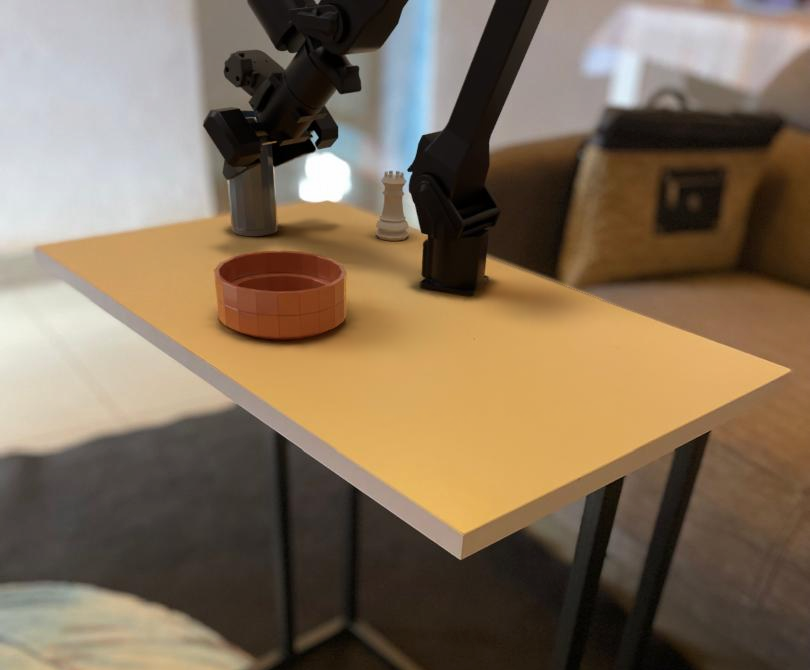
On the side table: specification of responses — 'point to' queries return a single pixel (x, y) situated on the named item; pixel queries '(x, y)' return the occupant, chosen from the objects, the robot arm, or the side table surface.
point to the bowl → (281, 294)
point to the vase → (254, 194)
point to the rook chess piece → (393, 209)
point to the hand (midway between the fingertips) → (243, 172)
